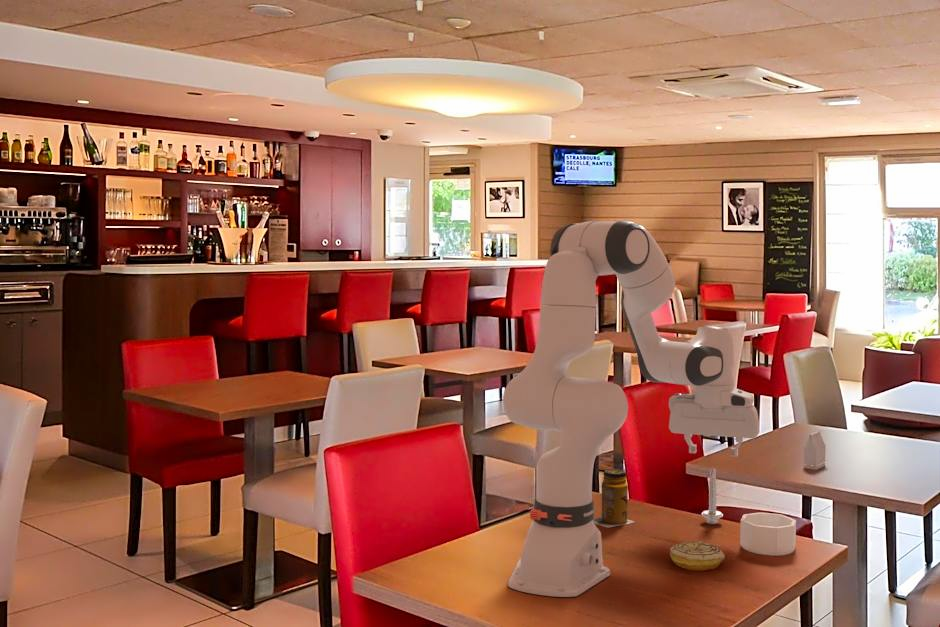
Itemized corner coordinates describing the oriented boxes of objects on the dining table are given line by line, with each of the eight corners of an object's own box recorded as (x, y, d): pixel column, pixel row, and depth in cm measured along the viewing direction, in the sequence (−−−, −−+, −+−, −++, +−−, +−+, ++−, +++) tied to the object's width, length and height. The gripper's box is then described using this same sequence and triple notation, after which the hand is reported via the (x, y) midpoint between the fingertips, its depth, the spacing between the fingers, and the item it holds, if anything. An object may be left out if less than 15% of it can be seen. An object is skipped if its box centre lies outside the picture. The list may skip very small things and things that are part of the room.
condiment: (635, 522, 224) (635, 472, 223) (608, 528, 220) (608, 477, 219) (614, 515, 230) (614, 466, 230) (587, 521, 226) (587, 471, 225)
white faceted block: (825, 465, 280) (825, 432, 279) (816, 469, 275) (816, 435, 274) (812, 463, 282) (813, 430, 282) (803, 468, 277) (804, 433, 277)
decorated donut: (733, 563, 196) (733, 545, 196) (707, 577, 188) (707, 558, 188) (687, 552, 203) (688, 535, 203) (660, 565, 195) (661, 546, 195)
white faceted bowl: (792, 558, 198) (792, 529, 198) (737, 551, 202) (738, 524, 202) (796, 543, 208) (797, 516, 208) (745, 537, 212) (745, 510, 212)
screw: (697, 520, 225) (715, 518, 227) (708, 526, 221) (727, 524, 222) (698, 466, 224) (716, 464, 226) (709, 471, 220) (727, 469, 221)
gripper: (666, 395, 223) (665, 453, 224) (757, 400, 215) (756, 460, 216) (671, 390, 228) (671, 447, 230) (760, 395, 220) (759, 454, 221)
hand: (713, 454), depth 223 cm, fingers open, 8 cm apart
